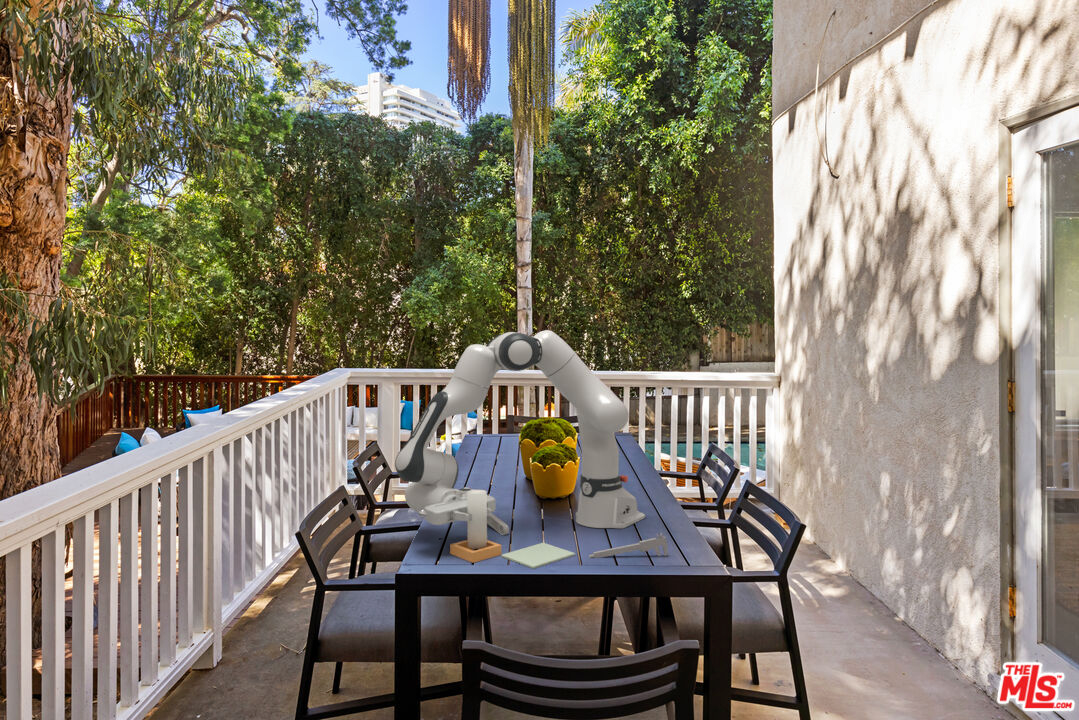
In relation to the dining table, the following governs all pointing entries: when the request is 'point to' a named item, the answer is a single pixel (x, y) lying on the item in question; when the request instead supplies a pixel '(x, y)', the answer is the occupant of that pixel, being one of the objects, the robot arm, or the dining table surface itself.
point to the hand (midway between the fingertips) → (479, 515)
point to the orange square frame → (474, 556)
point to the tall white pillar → (477, 518)
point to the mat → (538, 555)
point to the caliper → (635, 547)
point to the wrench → (496, 523)
